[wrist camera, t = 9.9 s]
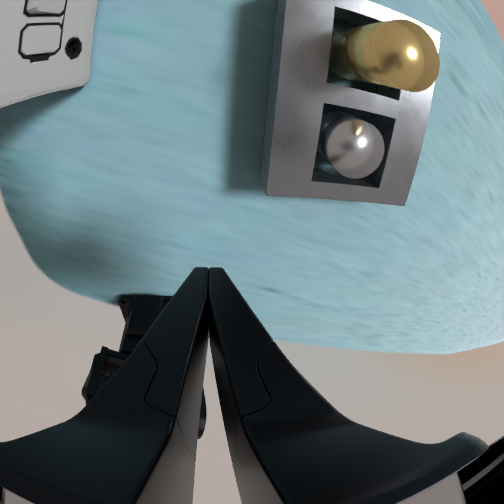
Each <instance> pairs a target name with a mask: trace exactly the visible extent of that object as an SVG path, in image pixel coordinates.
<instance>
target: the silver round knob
mask: <svg viewBox="0 0 504 504" xmlns="http://www.w3.org/2000/svg"><path fill="white" fill-rule="evenodd" d="M317 151H318V152H319V154H320V155H322V156H323V157H324V158H325V159H326V160H327V161H328V162H329V163H330V164H331V165H332V166H333V167H334V168H335V169H336V170H337V171H338V172H339V173H340V174H341V175H343V176H345V177H348V178H354V179H357V178H363V177H365V176H368V175H369V174H371V173H372V172H374V171H375V170H376V169H377V167H378V166H379V165H380V163H381V161H382V159H383V155H384V141H383V138H382V135H381V134H380V132H379V131H378V129H377V128H376V127H374V126H373V125H372V124H370V123H368V122H365V121H363V120H361V119H359V118H357V117H354V116H352V115H350V114H348V113H345V112H342V111H332V112H329V113H326V114H325V115H323V116H322V119H321V126H320V132H319V139H318V145H317Z"/></svg>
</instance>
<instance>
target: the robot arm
mask: <svg viewBox="0 0 504 504" xmlns="http://www.w3.org/2000/svg"><path fill="white" fill-rule="evenodd" d="M123 300H124V301H123ZM118 303H119V305H120V308H121V311H122V314H123V317H124V319H125V322H126V324H125V328H124V332H123V336H122V340H121V344H120V349H119V352H117V351H113V350H110V349H108V348H107V347H104V346H103V347H102V349H101V352H100V353H98V354H95V356H94V359H93V363H92V367H91V370H90V373H89V375H88V377H87V379H86V382H85V384H84V386H83V388H82V396H83V398H84V399H85V401H86V406H85V407H84V408H83V409H82V410H81V411H80V412H79V413H78V414H77V415H75V416H74V417H72V418H71V419H69V420H67V421H65V422H63V423H60V424H58V425H55V426H52V427H50V428H47V429H44V430H41V431H39V432H36V433H33V434H30V435H27V436H24V437H21V438H18V439H15V440H11V441H7V442H0V504H192V500H193V486H194V473H195V461H196V449H197V439H200V438H201V436H202V434H203V432H204V428H205V424H206V403H205V396H204V389H203V380H204V371H205V363H206V355H207V347H208V338H210V346H211V353H212V359H213V366H214V371H215V378H216V383H217V389H218V395H219V400H220V406H221V411H222V416H223V421H224V426H225V431H226V436H227V441H228V446H229V451H230V455H231V459H232V462H233V468H234V473H235V477H236V481H237V486H238V490H239V494H240V497H241V502H242V504H504V436H502V437H501V438H500V439H498V440H497V441H495V442H494V443H492V444H490V445H489V446H488V445H487V444H486V443H485V442H484V441H483V440H481V439H479V438H478V437H475V436H473V435H470V434H468V433H465V432H461V433H459V434H457V435H455V436H453V437H451V438H449V439H448V440H446V441H444V442H441V443H436V444H423V443H418V442H414V441H410V440H407V439H403V438H400V437H396V436H393V435H390V434H387V433H384V432H381V431H378V430H375V429H372V428H369V427H366V426H364V425H361V424H358V423H356V422H353V421H351V420H350V419H348V418H346V417H345V416H343V415H342V414H341V413H340V412H338V411H337V410H336V409H335V408H334V407H333V406H332V405H331V404H330V403H329V402H328V401H327V400H326V399H325V398H324V397H323V396H322V395H321V394H320V393H319V392H318V391H317V390H316V389H315V388H314V387H313V386H312V385H311V384H310V383H309V382H308V381H307V380H306V379H305V378H304V377H303V376H302V375H301V374H300V373H299V372H298V371H297V369H296V368H295V367H294V366H293V365H292V364H291V363H290V361H289V360H288V359H287V358H286V356H285V355H284V354H283V353H282V351H281V350H280V349H279V347H278V346H277V344H276V343H275V342H273V339H272V338H271V336H270V335H269V333H268V332H267V331H266V329H265V328H264V326H263V325H262V324H261V322H260V321H259V319H258V318H257V317H256V315H255V314H254V312H253V311H252V309H251V308H250V307H249V305H248V304H247V302H246V301H245V299H244V298H243V297H242V295H241V294H240V292H239V291H238V289H237V288H236V286H235V285H234V284H233V282H232V281H231V279H230V278H229V276H228V275H227V273H226V272H225V270H224V269H223V268H221V267H210V268H209V269H208V268H207V267H195V268H194V269H193V271H192V272H191V273H190V274H189V276H188V277H187V278H186V280H185V281H184V282H183V284H182V285H181V286H180V288H179V289H178V290H177V292H176V293H175V294H174V296H173V297H158V296H130V295H121V296H120V297H119V299H118Z"/></svg>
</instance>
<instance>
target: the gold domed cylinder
mask: <svg viewBox="0 0 504 504" xmlns="http://www.w3.org/2000/svg"><path fill="white" fill-rule="evenodd" d="M439 65H440V62H439V54H438V50H437V48H436V45H435V43H434V41H433V39H432V38H431V36H430V35H429V34H428V33H427V32H426V30H424V29H423V28H422V27H421V26H419V25H418V24H416V23H414V22H412V21H409V20H405V19H396V20H390V21H384V22H378V23H373V24H368V25H363V26H358V27H354V28H350V29H346V30H342V31H338V32H335V33H333V34H332V40H331V50H330V59H329V68H330V69H331V71H332V72H334V73H335V74H336V75H338V76H339V77H342V78H344V79H349V80H355V81H362V82H367V83H373V84H378V85H383V86H388V87H393V88H397V89H401V90H405V91H409V92H421V91H424V90H426V89H428V88H429V87H430V86H431V85H432V84H433V83H434V82H435V80H436V78H437V76H438V73H439Z"/></svg>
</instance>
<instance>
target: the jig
mask: <svg viewBox="0 0 504 504" xmlns="http://www.w3.org/2000/svg"><path fill="white" fill-rule="evenodd" d="M334 19H338V20H342V21H345V22H349V23H352V24H356V25H359V26H363V25H368V24H373V23H378V22H384V21H390V20H396V19H405V20H409V21H412V22H414V23H416V24H418V25H419V26H421V27H422V28H423V29H424V30H426V32H427V33H428V34H429V35H430V36H431V38H432V39H433V41H434V43H435V45H436V48H437V50H438V52H439V41H440V33H439V32H437V31H436V30H434V29H432V28H430V27H428V26H426V25H424V24H422V23H420V22H418V21H416V20H414V19H412V18H410V17H408V16H405V15H403V14H401V13H399V12H396V11H394V10H391V9H389V8H386V7H384V6H381V5H379V4H376V3H373V2H371V1H368V0H277V8H276V19H275V30H274V40H273V51H272V61H271V72H270V82H269V93H268V103H267V113H266V124H265V134H264V145H263V155H262V165H261V176H260V178H261V181H262V184H263V187H264V190H265V193H266V196H284V197H303V198H320V199H334V200H347V201H358V202H369V203H380V204H389V205H398V206H405V203H406V200H407V197H408V193H409V190H410V187H411V184H412V180H413V177H414V174H415V170H416V167H417V163H418V159H419V155H420V152H421V148H422V144H423V140H424V135H425V131H426V126H427V122H428V117H429V112H430V107H431V102H432V96H433V90H434V84H435V82H434V83H433V84H432V85H431V86H430V87H429V88H428V89H426V90H424V91H421V92H409V91H405V90H401V89H397V88H393V87H388V86H383V85H377V91H376V94H374V93H370V92H367V91H363V90H359V89H354V88H350V87H346V86H341V85H336V84H331V83H327V75H328V67H329V59H330V50H331V40H332V31H333V20H334ZM324 103H328V104H333V105H339V106H344V107H349V108H354V109H358V110H363V111H367V112H372V113H373V115H372V120H371V124H372V125H373V126H374V127H376V128H377V129H378V131H379V132H380V134H381V135H382V138H383V141H384V155H383V159H382V161H381V163H380V165H379V166H378V167H377V169H376V170H375V171H374V172H372V173H371V174H369V175H368V176H365V177H363V178H357V179H354V178H348V177H345V176H343V175H341V174H340V173H339V172H338V171H337V170H336V169H335V168H328V167H318V166H314V163H315V157H316V151H317V145H318V139H319V132H320V126H321V119H322V112H323V105H324Z"/></svg>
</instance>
